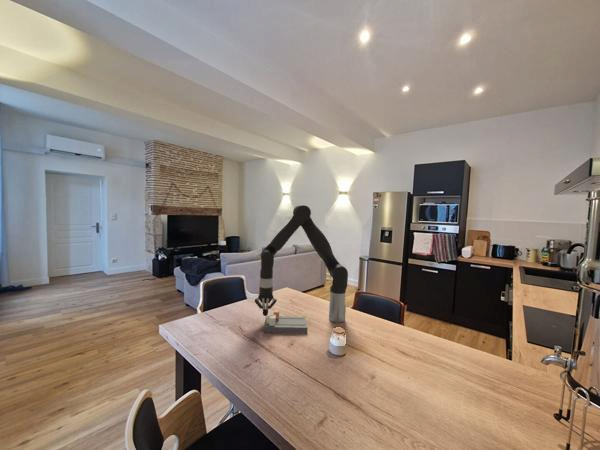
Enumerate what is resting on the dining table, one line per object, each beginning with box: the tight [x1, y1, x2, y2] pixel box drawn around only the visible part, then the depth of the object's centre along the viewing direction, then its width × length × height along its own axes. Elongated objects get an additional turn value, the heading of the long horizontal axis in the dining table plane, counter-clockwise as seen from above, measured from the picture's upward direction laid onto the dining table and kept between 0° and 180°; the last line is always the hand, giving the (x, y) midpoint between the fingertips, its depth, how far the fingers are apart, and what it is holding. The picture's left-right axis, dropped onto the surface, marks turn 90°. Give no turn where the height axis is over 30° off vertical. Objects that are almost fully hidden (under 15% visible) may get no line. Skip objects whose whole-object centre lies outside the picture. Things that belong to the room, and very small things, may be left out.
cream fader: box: [269, 314, 276, 326], centre depth 134 cm, size 3×4×4 cm
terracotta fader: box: [273, 308, 280, 319], centre depth 142 cm, size 3×4×4 cm
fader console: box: [263, 315, 308, 334], centre depth 138 cm, size 23×14×3 cm, turn 93°
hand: (265, 315), depth 142 cm, fingers closed
